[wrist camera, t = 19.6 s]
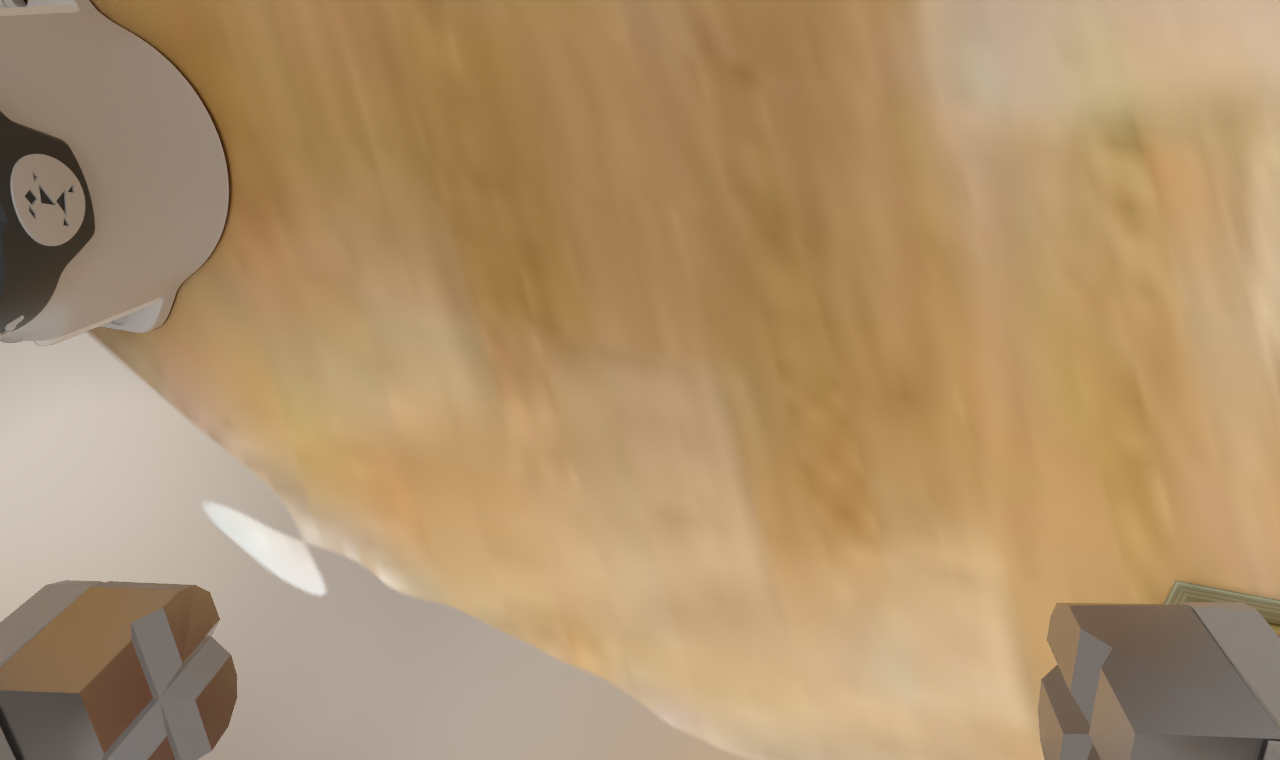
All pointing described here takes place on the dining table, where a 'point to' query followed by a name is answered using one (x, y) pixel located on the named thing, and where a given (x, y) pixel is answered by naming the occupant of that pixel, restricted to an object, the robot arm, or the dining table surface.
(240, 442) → the dining table surface
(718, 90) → the dining table surface
